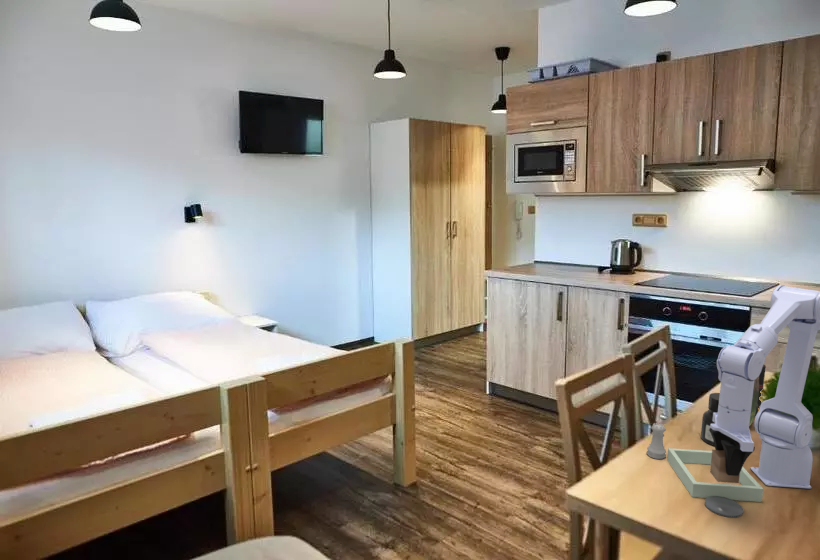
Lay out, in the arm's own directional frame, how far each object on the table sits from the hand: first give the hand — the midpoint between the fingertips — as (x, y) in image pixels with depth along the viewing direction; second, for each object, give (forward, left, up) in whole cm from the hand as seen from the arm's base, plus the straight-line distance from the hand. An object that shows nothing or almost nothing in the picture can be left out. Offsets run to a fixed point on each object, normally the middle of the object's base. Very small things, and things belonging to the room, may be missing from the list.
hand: (727, 469), depth 118 cm
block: (0, 0, -2) cm, 2 cm away
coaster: (0, 0, -9) cm, 9 cm away
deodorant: (-28, -55, -9) cm, 62 cm away
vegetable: (-22, -45, -9) cm, 50 cm away
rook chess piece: (+7, -23, -9) cm, 25 cm away
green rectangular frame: (-2, -12, -9) cm, 15 cm away
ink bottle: (-12, -34, -9) cm, 37 cm away
